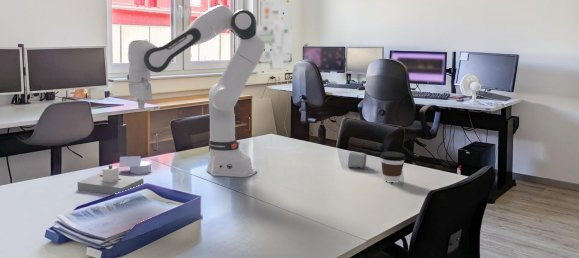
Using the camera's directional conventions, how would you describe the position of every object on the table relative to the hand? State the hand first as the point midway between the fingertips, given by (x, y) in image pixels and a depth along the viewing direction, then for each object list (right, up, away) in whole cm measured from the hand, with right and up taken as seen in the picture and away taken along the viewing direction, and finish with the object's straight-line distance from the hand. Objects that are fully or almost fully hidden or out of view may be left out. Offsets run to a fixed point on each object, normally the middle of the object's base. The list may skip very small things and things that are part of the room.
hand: (141, 108), depth 218 cm
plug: (-5, -31, -23) cm, 39 cm away
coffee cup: (+109, -32, -4) cm, 114 cm away
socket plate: (-5, -32, -23) cm, 40 cm away
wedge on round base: (-3, -28, +2) cm, 28 cm away
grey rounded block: (+97, -27, +18) cm, 103 cm away
